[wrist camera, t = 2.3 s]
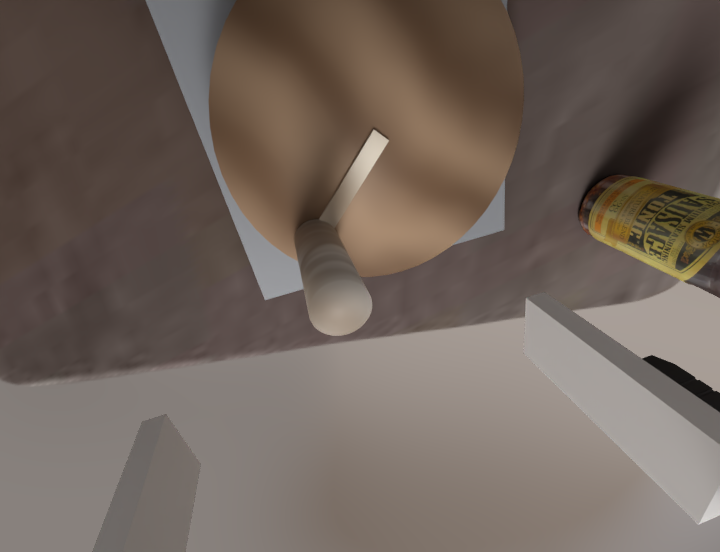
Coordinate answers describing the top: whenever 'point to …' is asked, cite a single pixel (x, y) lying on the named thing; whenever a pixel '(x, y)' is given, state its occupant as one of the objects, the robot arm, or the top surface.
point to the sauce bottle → (658, 227)
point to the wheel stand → (192, 69)
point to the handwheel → (364, 133)
